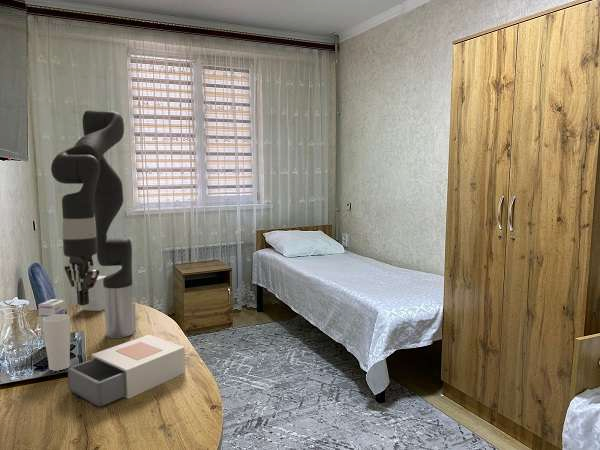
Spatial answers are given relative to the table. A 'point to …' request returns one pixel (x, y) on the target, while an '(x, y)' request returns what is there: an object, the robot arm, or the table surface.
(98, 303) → the small box
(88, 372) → the tray
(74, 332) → the table surface
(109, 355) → the mailer sleeve
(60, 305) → the syrup box
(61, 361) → the white cup
